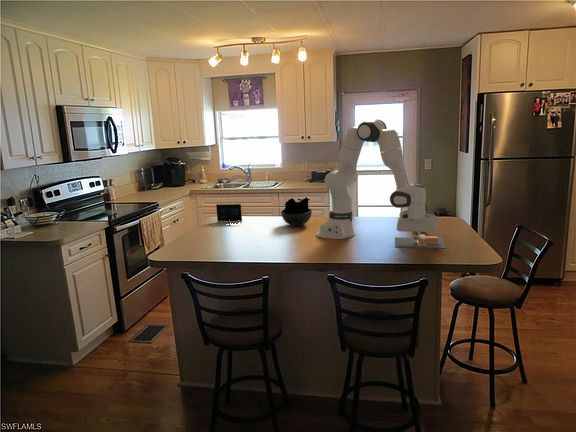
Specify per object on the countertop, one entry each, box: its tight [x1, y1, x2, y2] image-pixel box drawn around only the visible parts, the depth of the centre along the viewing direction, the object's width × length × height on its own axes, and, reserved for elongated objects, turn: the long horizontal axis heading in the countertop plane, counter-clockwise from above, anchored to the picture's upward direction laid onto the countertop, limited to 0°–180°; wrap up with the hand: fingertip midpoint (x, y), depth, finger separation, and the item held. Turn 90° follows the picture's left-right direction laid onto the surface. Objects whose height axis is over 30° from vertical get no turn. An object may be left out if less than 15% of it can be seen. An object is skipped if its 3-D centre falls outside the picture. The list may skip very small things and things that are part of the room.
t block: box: [418, 233, 440, 245], centre depth 225 cm, size 10×11×3 cm
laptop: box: [211, 203, 243, 227], centre depth 290 cm, size 18×12×13 cm
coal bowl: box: [280, 196, 313, 227], centre depth 275 cm, size 20×20×19 cm
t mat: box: [394, 236, 447, 250], centre depth 226 cm, size 25×18×1 cm
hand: (415, 239), depth 226 cm, fingers closed
